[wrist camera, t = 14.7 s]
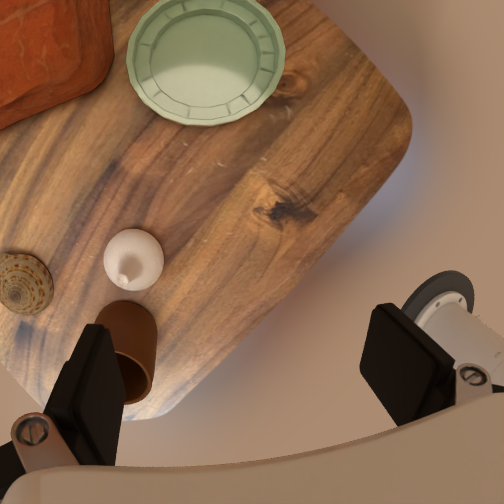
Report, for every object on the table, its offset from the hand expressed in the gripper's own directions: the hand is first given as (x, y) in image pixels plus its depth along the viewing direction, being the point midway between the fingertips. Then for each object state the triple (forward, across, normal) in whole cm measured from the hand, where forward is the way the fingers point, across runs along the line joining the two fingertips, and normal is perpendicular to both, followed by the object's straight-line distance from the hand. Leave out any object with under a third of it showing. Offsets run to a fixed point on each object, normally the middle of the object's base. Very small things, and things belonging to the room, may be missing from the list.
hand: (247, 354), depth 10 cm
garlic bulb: (+24, +8, +4) cm, 25 cm away
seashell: (+23, +23, +7) cm, 34 cm away
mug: (+24, +11, +15) cm, 30 cm away
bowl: (+23, +1, -16) cm, 28 cm away
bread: (+23, +24, -18) cm, 38 cm away
